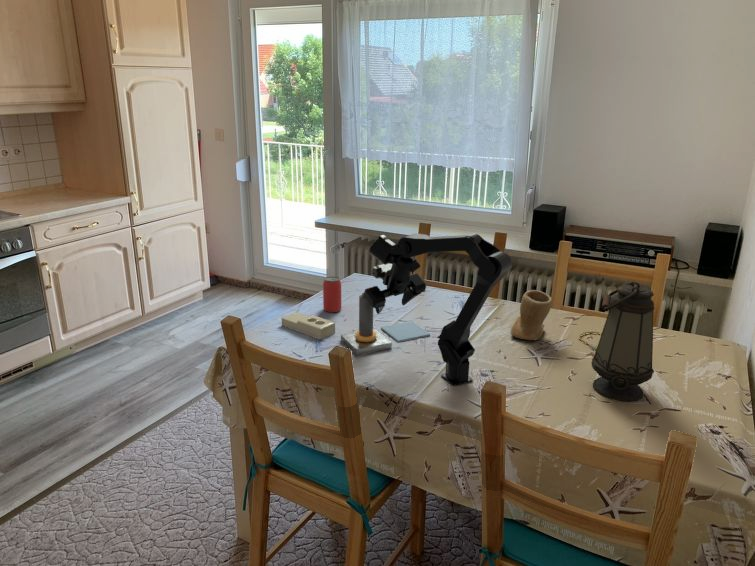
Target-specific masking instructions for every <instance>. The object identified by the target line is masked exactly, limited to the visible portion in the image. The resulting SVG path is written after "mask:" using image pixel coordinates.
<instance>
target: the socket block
mask: <svg viewBox="0 0 755 566" xmlns="http://www.w3.org/2000/svg"><path fill="white" fill-rule="evenodd" d="M373 331H374V332H375V333H376V340H374V341H372V342H366V343H361V342H360V341H358V340H356V332H357V331H353V332H349V333H344V334H340V341H341V342H342V343H343V344H344V345H345V346H346V347H347V348H348V349H349V348H350V349H351V350H352V351H351V350H350V349H349V350H350V351H351V352H352V353H353V354H354V355H355V356H362V355H367V354H370V353H371V354H372V353H375V352H381V351H385V350H390V349H393V342H392V341H391V340H389V338H387V337H386V336H385V335H383V334H382V333H381V332H379V331H378V330H377V329H376V328H373Z"/></svg>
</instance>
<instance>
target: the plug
mask: <svg viewBox="0 0 755 566" xmlns="http://www.w3.org/2000/svg"><path fill="white" fill-rule="evenodd" d="M358 298H359V299H358V331H355V332H356V340H358V341H360V342H361V343H366V342H372V341H374V340H376V333H375V332H374V331H373V329H374V308H373V307H372V306H371V305H370V303H369V302H368V301H367V299H366V298H365V296H364V292H362V293H361V295H359V296H358Z"/></svg>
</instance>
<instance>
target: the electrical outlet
mask: <svg viewBox="0 0 755 566" xmlns="http://www.w3.org/2000/svg"><path fill="white" fill-rule="evenodd" d="M281 326H283V327H286V328H289V329H290V328H291V330H294V331H296V332H299V333H301V332H302V333H301V334H305V335H308V336H310V337H313V338H315V337H316V339H318V338H319V340H322V339H325V338H327V337H329V336H331V335H333V334H335V333H336V322H335V321H333V320H329V319H326V318H323V317H320V316H317V315H314V314H311V315H307V314H305V313H302V312H298V311H296V312H295V311H294V312H293V313H290V314H288V315H286V316H282V317H281Z"/></svg>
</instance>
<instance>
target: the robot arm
mask: <svg viewBox="0 0 755 566" xmlns="http://www.w3.org/2000/svg"><path fill="white" fill-rule="evenodd" d="M441 252H442V253H443V252H446V253H447V252H466V253H467V254H468V256H469V258H470V260H471V262H473V264H474V265H475V266H476V267H477V268H478V270H477V272H476V283H475V284H474V287H473V288H472V289H471V291H470V293H469V296H468V298H466V301H465V303H463V306H462V308H461V310H460V312H459V314H458V315H457V317H456V319H454V320H452V321H449V323H447V324H445V325H444V326H443V327H442V329H441V331H440V334H439V335H438V336H437V337H436V338H437V339H438V340H437V347H438V349H439V351H440V353H441V357H442V361H443V362H444V363H445V372H444V373H441V375H440V376H441V377H442V378H443V379H444V380H445V381H447V382H449V384H451V385H452V386H458V385H459V386H460V385H464V384H466V383H470V382H473V380H474V379H473V378H472V377H471V376H469V373H470V361H469V358H470V357H472V356H473V355H474V354H475V351H476V349H475V347H474V346H473V345H472V344H471V342H470V340H469V339H470V335H471V327H472V326H473V324H474V321H475V320H476V318H477V317H478V316H479V313H480V311H481V309H482V308H483V307H484V304H485V302H486V301H487V300H488V298H489V295H490V294H491V292H492V290H493V289H494V288H495V286H496V285H497V284H498V283H500V281H501V280H503V279H504V278H505V276H506V275H507V274H508V273H509V272H510V271H511V269H512V267H513V262H512V259H511V256H510V255H509V254H508V253H506V252H505V251H501V249H499V248H498V247H497V246H496V245H495V244H492V243H490V241H487V240H486V239H484V237H482V236H481V235H480V234H477V233H471V234H461V235H460V234H459V235H458V234H457V235H445V236H444V235H443V236H430V235H428V234H424V233H413V234H409V235H405V236H403V237H401V238H400V239H399V240H398V242H397V243H395V242H394V241H391V239H389V238H388V236H386V235H385V234H382V235H379V236H378V238H377V239H376V240H375V241H374V242H373V243H372V244H371V245H370V247H369V254H370V255H371V256H373V257H374V258H376V259H377V260H378V261H379V262H380V263H382V264H378V265H376V266H373V267H372V268H373V269H372V270H371V273H372V274H371V275H372V276H373V277H374V278H375V279H379V278H380V279H381V280H382V284H383V285H384V286H385V287H386V288H385V289H382V290H381V289H380V287H379V286H378V285H374V286H369V287H367V288H365V289H364V291H363V293H364V296H365V298H366V299H367V301H368V302H369V303H370V305H371V306H372V307H373V309H375V311H376V315H380V314H381V312H382V311H383V309H384V308H385V306H386V303H387V299H386V298H390V297H393V296H394V297H396V296H399V295H402V299H401V305H402V306H403V307H404V306H405V305H407V303H410V302H411V301H412V300H413V299H415V298H416V297H417V296H420V295H421V294H422V293H423V292H425V291H426V289H427V283H426V282H425V281H424V279H423V278H422V276H420V274H418V273H414V272H415V271H417V270H418V269H419V268H421V264H420V263H419V262H418V261H417V259H416V258H415V257H417V256H421V255H424V254H427V253H441ZM414 258H415V259H414ZM411 273H412V274H411Z"/></svg>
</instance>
